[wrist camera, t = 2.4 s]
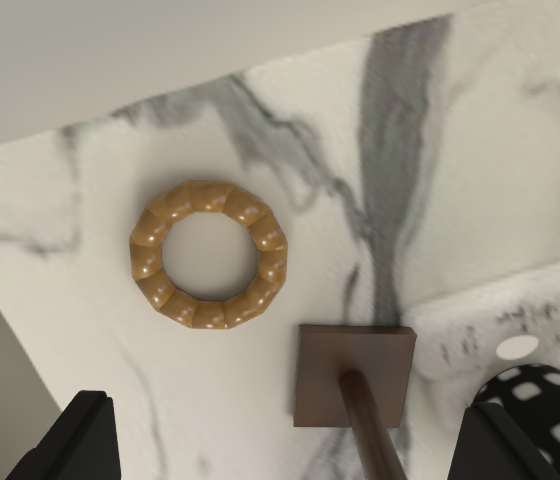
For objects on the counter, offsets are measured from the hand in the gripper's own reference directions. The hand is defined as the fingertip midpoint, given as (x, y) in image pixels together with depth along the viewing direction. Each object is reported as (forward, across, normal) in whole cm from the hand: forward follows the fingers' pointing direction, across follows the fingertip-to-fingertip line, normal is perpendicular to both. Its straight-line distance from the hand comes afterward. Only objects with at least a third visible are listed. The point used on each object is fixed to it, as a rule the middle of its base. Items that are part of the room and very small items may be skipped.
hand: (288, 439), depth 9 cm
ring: (+13, +4, 0) cm, 14 cm away
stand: (+14, -6, +9) cm, 18 cm away
